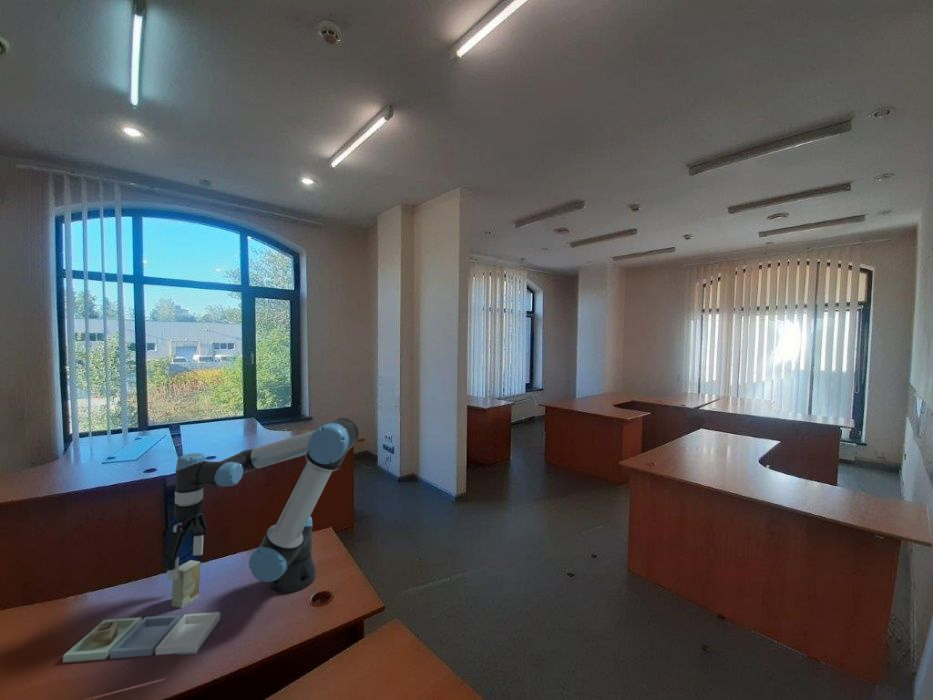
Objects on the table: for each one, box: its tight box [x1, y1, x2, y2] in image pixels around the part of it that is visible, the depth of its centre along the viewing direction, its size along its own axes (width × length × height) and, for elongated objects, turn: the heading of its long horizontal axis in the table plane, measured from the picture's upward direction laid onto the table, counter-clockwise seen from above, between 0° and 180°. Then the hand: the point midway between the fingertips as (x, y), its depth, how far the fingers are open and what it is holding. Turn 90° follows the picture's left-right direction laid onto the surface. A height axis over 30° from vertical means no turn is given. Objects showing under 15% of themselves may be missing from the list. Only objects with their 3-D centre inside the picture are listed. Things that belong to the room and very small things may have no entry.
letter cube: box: [92, 621, 118, 649], centre depth 104 cm, size 4×4×4 cm
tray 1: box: [62, 616, 142, 663], centre depth 104 cm, size 10×13×2 cm
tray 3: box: [155, 611, 221, 656], centre depth 107 cm, size 10×13×2 cm
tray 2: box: [109, 614, 182, 660], centre depth 106 cm, size 10×13×2 cm
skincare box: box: [171, 559, 201, 609], centre depth 122 cm, size 6×4×12 cm
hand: (185, 566), depth 122 cm, fingers open, 13 cm apart
